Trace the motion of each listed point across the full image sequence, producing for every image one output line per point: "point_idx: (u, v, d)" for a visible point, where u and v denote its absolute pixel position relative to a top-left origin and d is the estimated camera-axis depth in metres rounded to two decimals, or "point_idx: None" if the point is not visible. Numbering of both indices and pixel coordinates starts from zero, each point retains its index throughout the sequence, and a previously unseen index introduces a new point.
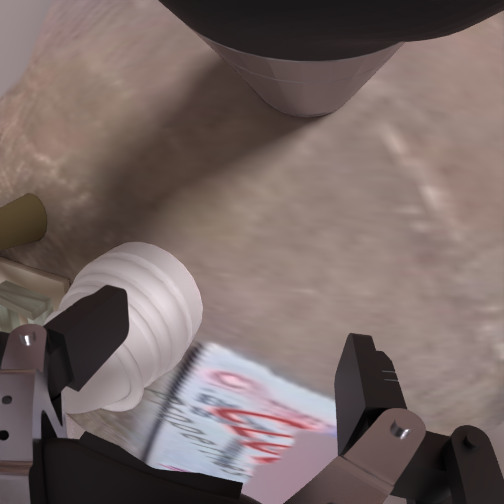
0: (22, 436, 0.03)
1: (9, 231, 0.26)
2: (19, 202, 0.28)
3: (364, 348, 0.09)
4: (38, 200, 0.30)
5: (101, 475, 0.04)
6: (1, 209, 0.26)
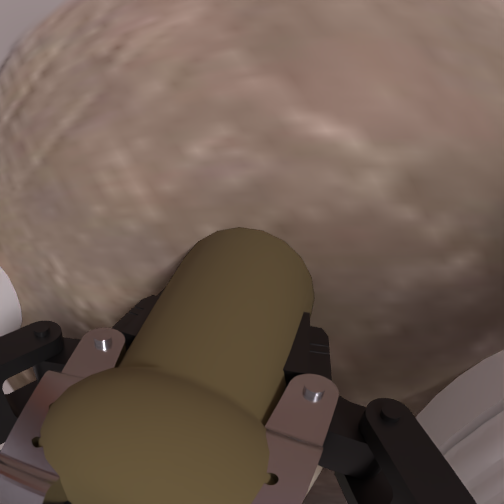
0: None
1: None
2: (259, 265, 0.10)
3: None
4: (295, 254, 0.12)
5: None
6: (227, 305, 0.08)
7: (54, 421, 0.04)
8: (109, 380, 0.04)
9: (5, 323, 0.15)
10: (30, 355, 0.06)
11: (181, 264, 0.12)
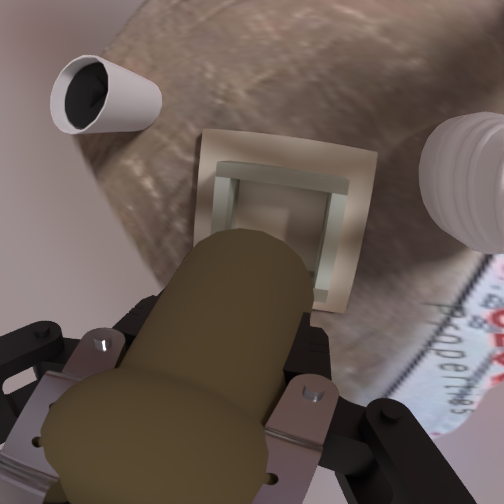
0: None
1: None
2: (259, 266, 0.10)
3: None
4: (295, 255, 0.12)
5: None
6: (227, 306, 0.08)
7: (54, 422, 0.04)
8: (109, 381, 0.04)
9: (153, 106, 0.27)
10: (30, 355, 0.06)
11: (181, 265, 0.12)
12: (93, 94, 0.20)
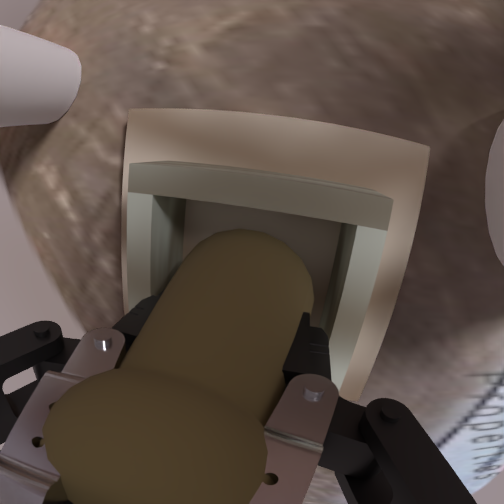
0: None
1: None
2: (259, 266, 0.10)
3: None
4: (295, 255, 0.12)
5: None
6: (227, 307, 0.08)
7: (55, 422, 0.04)
8: (110, 381, 0.04)
9: (63, 82, 0.14)
10: (30, 355, 0.06)
11: (181, 265, 0.12)
12: None
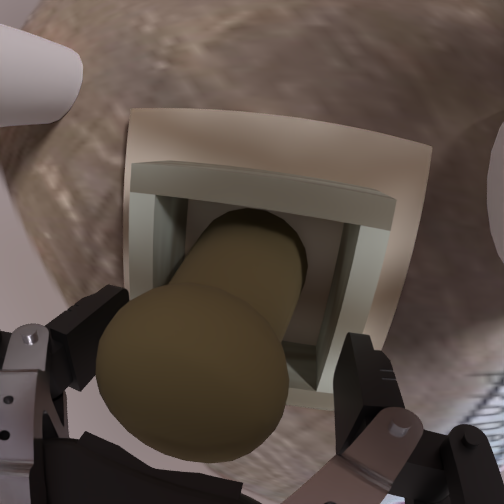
0: (24, 436, 0.03)
1: (286, 324, 0.11)
2: (263, 232, 0.13)
3: (362, 347, 0.09)
4: (291, 229, 0.15)
5: (101, 475, 0.04)
6: (241, 255, 0.11)
7: (125, 314, 0.07)
8: (166, 287, 0.07)
9: (64, 81, 0.14)
10: None
11: (200, 236, 0.15)
12: None
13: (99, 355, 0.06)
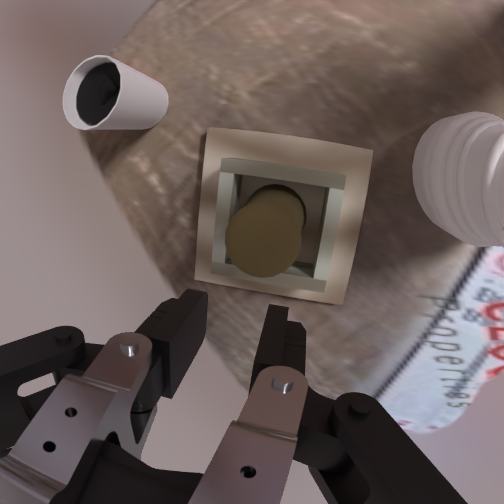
0: (69, 456, 0.03)
1: None
2: (285, 193, 0.27)
3: (275, 316, 0.10)
4: (297, 194, 0.29)
5: (101, 475, 0.04)
6: (277, 199, 0.24)
7: (244, 208, 0.20)
8: (256, 202, 0.21)
9: (161, 105, 0.28)
10: (48, 361, 0.06)
11: (250, 197, 0.29)
12: (105, 92, 0.21)
13: (233, 224, 0.20)
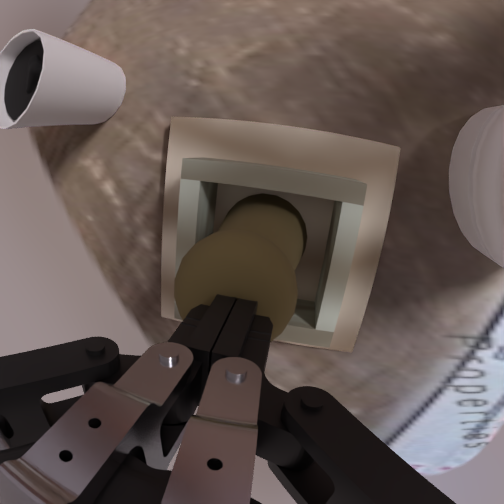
0: (85, 469, 0.03)
1: (293, 267, 0.16)
2: (276, 209, 0.18)
3: (242, 309, 0.10)
4: (295, 209, 0.21)
5: None
6: (263, 220, 0.16)
7: (201, 244, 0.12)
8: (223, 231, 0.13)
9: (113, 91, 0.20)
10: (76, 374, 0.06)
11: (228, 213, 0.20)
12: (29, 77, 0.13)
13: (183, 270, 0.12)
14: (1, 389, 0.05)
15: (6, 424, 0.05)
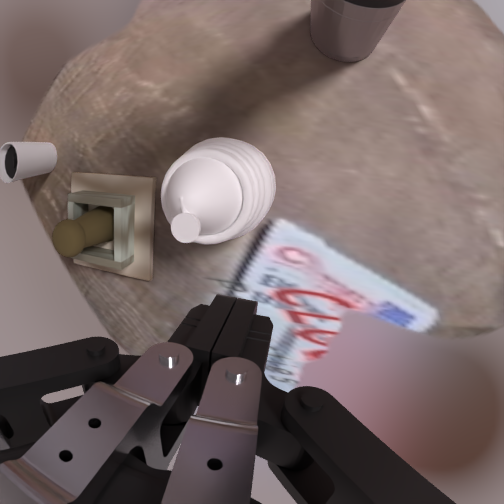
0: (84, 468, 0.03)
1: (96, 232, 0.40)
2: (99, 211, 0.42)
3: (242, 309, 0.10)
4: (113, 210, 0.45)
5: None
6: (87, 216, 0.40)
7: (58, 223, 0.36)
8: None
9: (50, 160, 0.44)
10: (76, 374, 0.06)
11: None
12: (14, 162, 0.37)
13: (53, 231, 0.36)
14: (1, 389, 0.05)
15: (5, 424, 0.05)
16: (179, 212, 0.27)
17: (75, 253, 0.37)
